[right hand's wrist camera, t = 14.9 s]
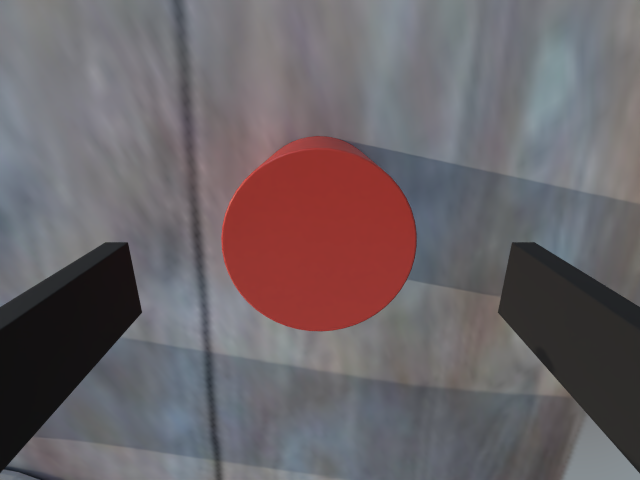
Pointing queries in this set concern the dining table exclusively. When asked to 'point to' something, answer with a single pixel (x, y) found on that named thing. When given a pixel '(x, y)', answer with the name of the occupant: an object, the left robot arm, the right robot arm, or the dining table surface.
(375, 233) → the canister
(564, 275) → the right robot arm
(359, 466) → the dining table surface
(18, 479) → the wall clock
